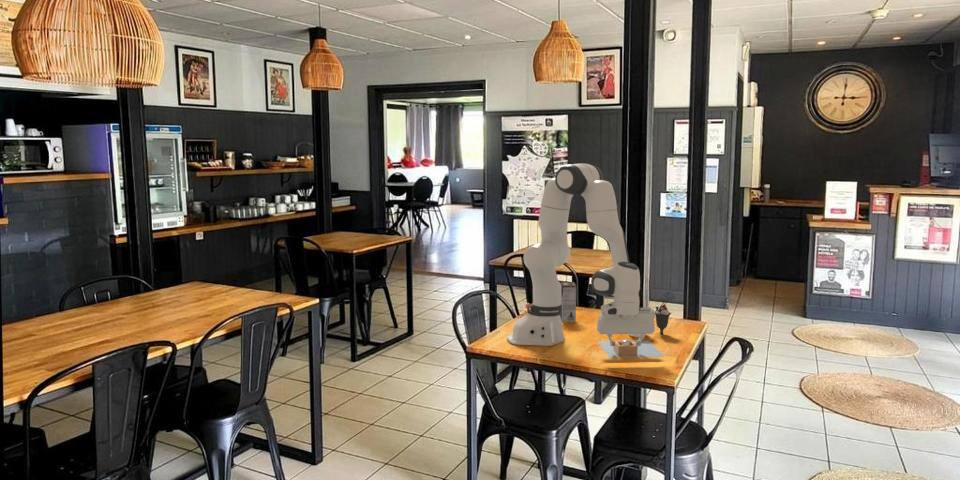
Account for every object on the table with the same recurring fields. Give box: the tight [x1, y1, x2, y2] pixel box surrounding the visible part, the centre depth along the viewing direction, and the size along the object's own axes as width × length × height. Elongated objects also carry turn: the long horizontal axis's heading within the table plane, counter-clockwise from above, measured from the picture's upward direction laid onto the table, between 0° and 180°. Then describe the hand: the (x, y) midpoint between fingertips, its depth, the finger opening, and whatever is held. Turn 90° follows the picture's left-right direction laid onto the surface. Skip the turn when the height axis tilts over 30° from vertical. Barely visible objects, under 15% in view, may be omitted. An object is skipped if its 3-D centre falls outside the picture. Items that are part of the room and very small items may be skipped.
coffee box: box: [559, 281, 577, 323], centre depth 291 cm, size 9×6×16 cm
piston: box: [620, 339, 631, 346], centre depth 237 cm, size 3×3×4 cm
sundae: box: [654, 301, 672, 336], centre depth 262 cm, size 7×7×15 cm
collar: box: [614, 340, 638, 356], centre depth 238 cm, size 7×7×4 cm
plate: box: [596, 340, 666, 359], centre depth 243 cm, size 20×20×2 cm
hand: (625, 345), depth 237 cm, fingers open, 8 cm apart
